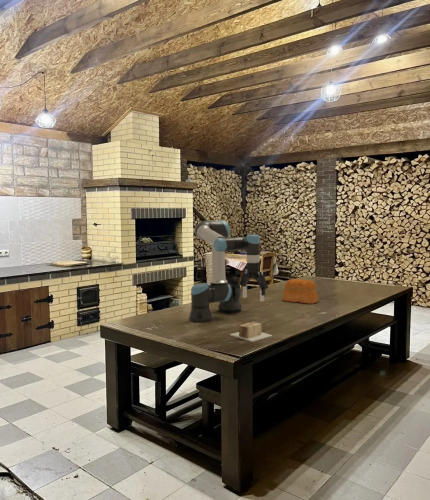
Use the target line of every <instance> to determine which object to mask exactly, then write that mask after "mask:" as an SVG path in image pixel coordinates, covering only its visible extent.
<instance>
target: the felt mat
mask: <svg viewBox="0 0 430 500" xmlns="http://www.w3.org/2000/svg"><path fill="white" fill-rule="evenodd" d="M229 336H231V337H235V338H238V339H242V340H245V341H248V342H250V343H254V342H257V341H260V340H263V339H269V338H271V337H273V335H272V334H268V333H266V332H262V331H261V334H260V335H256V336H253V337H249V338H244V337H240V336H239V331H237V332H234V333H230V334H229Z"/></svg>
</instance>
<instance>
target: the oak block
mask: <svg viewBox="0 0 430 500" xmlns="http://www.w3.org/2000/svg"><path fill="white" fill-rule="evenodd" d="M238 332H239V336H240V337H244V338H249V337H253V336H256V335H260V334H261V332H262V323H259V322H256V321H251V322H248V323H245V324H243V323H242V324H240V325H239V326H238Z"/></svg>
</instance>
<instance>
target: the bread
mask: <svg viewBox="0 0 430 500" xmlns="http://www.w3.org/2000/svg"><path fill="white" fill-rule="evenodd" d="M282 300H283V301H285V302H290V303H291V302H292V303H299V302H300V303H301V304H306V303H307V304H309V305H313V304H316V303H318V302H319V295H318V291H317V285H316V283H315V282H314V280H310V279H309V280H308V279H302V278H300V279H295V278H292V279H288V280H287V281H286V282H285V285H284V290H283V294H282ZM307 304H306V305H307Z"/></svg>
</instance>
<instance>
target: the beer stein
mask: <svg viewBox="0 0 430 500" xmlns="http://www.w3.org/2000/svg"><path fill="white" fill-rule="evenodd" d="M225 279H226V280H227V281H228V284H229V285H230V286H231V296H230V298H229V300H228V301H224V302H219V304H218V311H219V313H222V314H238V313H241V311H242V304H241V300H240V297H241V294H242V287H241V285H239V283H240V282H239V281H238V279H236V278H235V277H234V276H233V275H227V277H225Z"/></svg>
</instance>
